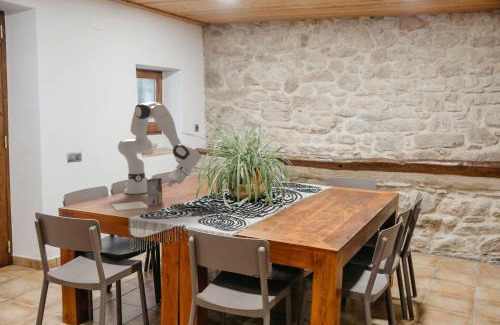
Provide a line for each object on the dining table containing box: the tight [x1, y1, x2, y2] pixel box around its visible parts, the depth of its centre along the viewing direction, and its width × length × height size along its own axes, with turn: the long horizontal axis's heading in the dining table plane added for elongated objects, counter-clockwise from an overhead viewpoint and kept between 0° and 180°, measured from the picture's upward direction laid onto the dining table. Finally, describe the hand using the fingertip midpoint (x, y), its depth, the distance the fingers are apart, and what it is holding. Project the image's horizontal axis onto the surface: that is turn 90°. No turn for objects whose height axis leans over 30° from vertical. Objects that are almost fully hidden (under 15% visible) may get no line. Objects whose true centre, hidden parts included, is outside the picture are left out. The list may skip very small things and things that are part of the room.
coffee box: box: [146, 177, 164, 206], centre depth 297 cm, size 9×6×16 cm
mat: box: [111, 200, 149, 212], centre depth 292 cm, size 20×19×1 cm
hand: (168, 186), depth 301 cm, fingers closed
